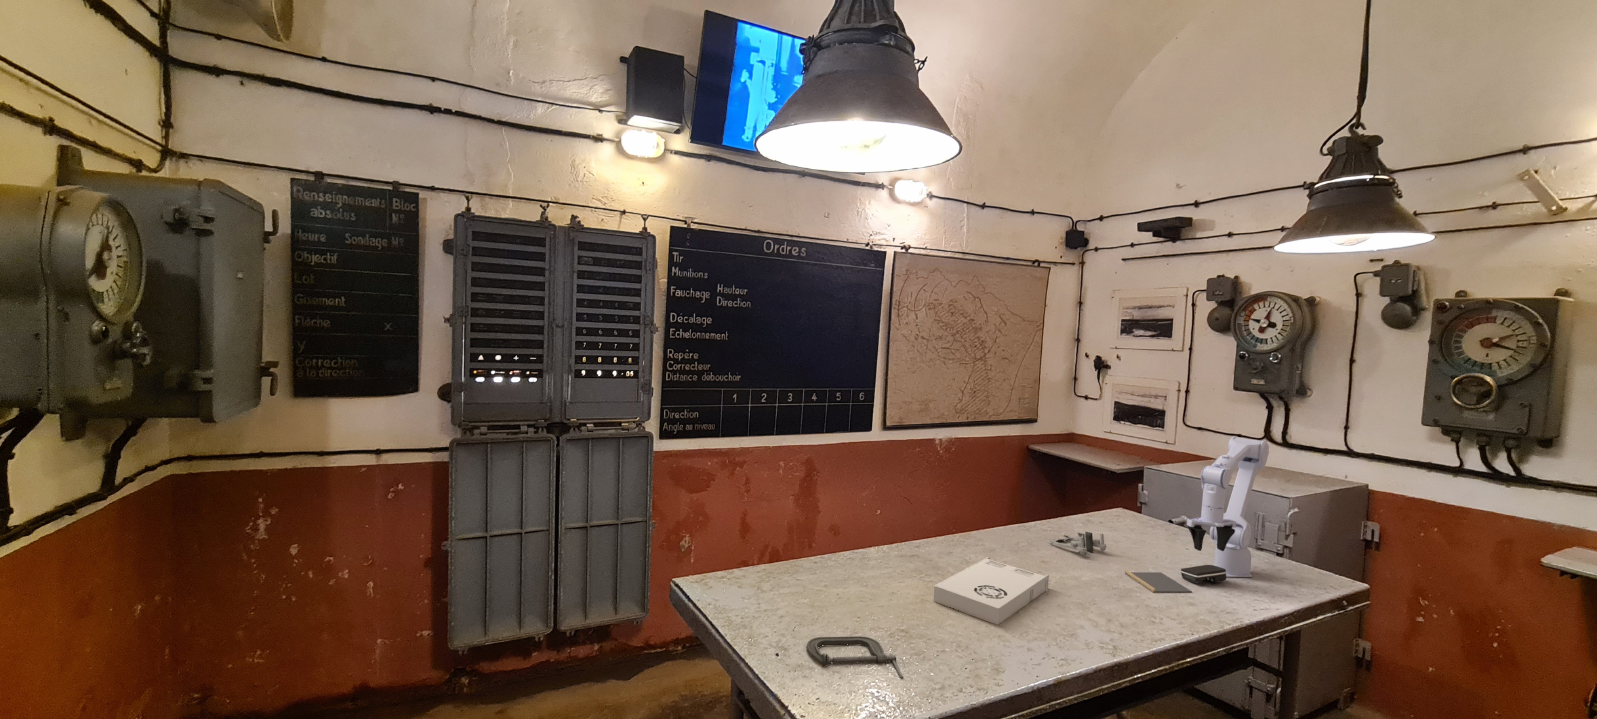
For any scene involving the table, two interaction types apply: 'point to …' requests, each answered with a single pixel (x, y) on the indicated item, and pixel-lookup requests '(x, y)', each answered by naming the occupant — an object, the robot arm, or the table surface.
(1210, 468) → the robot arm
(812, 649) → the c clamp
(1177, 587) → the mat
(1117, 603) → the table surface
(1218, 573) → the battery charger
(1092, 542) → the bike brake
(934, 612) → the table surface
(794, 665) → the table surface
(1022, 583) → the white flat box
